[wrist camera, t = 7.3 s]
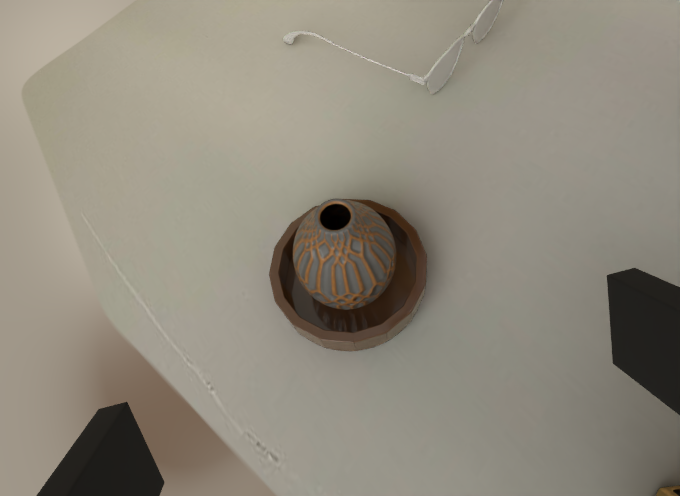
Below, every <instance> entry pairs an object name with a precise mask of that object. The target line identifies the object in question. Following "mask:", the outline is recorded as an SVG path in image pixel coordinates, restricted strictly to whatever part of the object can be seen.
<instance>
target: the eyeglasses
mask: <svg viewBox="0 0 680 496" xmlns="http://www.w3.org/2000/svg"><path fill="white" fill-rule="evenodd" d="M502 3H503V0H490V1H489V2H488V4H487V5H486V6H485V7H484V9H483V10H482V11H481V12H480V14H479V15H478V17H477V19H476V20H475V23H473V24H472V25H470V26H469V27H468V28H467V29H466V31H465V32H464V34H463V35H462V36H460V37H459V38H457V39H456V40H455V41H454V42H453V44H452V45H451V46H450V47H449V48H448V49H447V50H446V51H445V52H444V53H443V55H442V56H441V57H440V58H439V59H438V60H437V61H436V63H435V64H434V65H433V66H432V68H431V69H430V71H429V73H427V74H426V75H425V76H424V77H423V78H422V77H420V76H418V75H415V74H413V73H411V74H406V73H403V72H401V71H398V70H396V69H393V68H391V67H388V66H385V65H383V64H380V63H378V62H375V61H373V60H370V59H368V58H365V57H363V56H361V55H359V54H356V53H354V52H352V51H349V50H347V49H345V48H343V47H341V46H339V45H336V44H334V42H332V41H330V40H328V39H326V38H324V37H322V36H320V35H318V34H316V33H313V32H309V31H294V32H290V33H288V34H287V35H285V36H284V37H283V41H284V42H286V43H288V44H290V45H291V44H293V42H294V39H295V37H297V36H299V35H302V34H310V35H313V36H316V37H319V38H321V39H322V40H324V41H326V42H328V43H330V44H332V45H335V46H337V47H339V48H342V49H344V50H346V51H348V52H351V53H353V54H355V55H357V56H360V57H362V58H364V59H366V60H369V61H371V62H374V63H376V64H379V65H381V66H384V67H386V68H389V69H391V70H394V71H397V72H399V73H402V74H404V75H407V76H409V78H410V80H413V81H415V82H417V83H420V84H422V85H424V84H425V83H426V84H427V87H428V90H429V92H430V93H431V94H435V93H436V92H438V91H439V90H440V89H441V88H442V87H443V86H444V84H445V83H446V82H447V80H448V79H449V77H450V76H451V74H452V73H453V71H454V69H455V66H456V64H457V61H458V58H459V56H460V53H461V50H462V46H463V43H464V38H465V36H466V35H467V34H468V36H469V34H470V32H472V29H473V41H474V43H479V42H480V41H481V40H482V39H483V38H484V37H485V36H486V35H487V33H488V32H489V30H490V29H491V27H492V26H493V24H494V22H495V20H496V18H497V15H498V13H499V10H500V8H501V5H502Z"/></svg>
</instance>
